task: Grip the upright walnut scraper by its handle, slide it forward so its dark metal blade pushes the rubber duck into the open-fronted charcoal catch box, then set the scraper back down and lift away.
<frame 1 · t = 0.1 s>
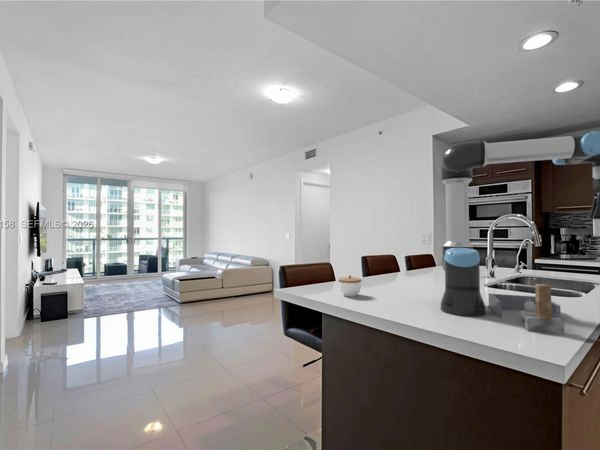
catch box: (522, 313, 116), on the counter
scraper: (543, 331, 96), on the counter
rubber duck: (530, 323, 105), on the counter
lidded jar: (350, 295, 150), on the counter
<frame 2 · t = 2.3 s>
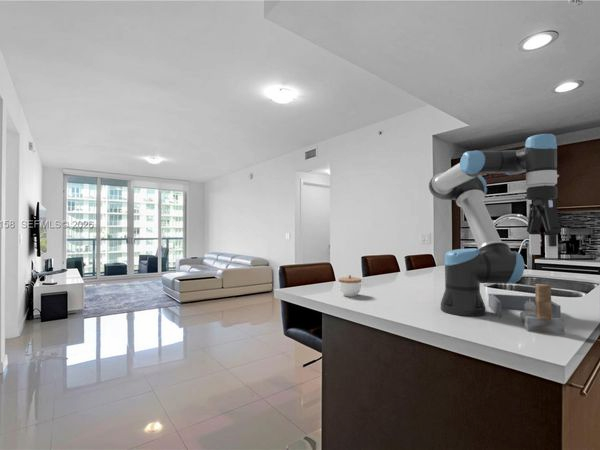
hand: (542, 256, 96), 23 cm above the counter, tool pointing down, fingers open, 13 cm apart
nothing on the counter moved.
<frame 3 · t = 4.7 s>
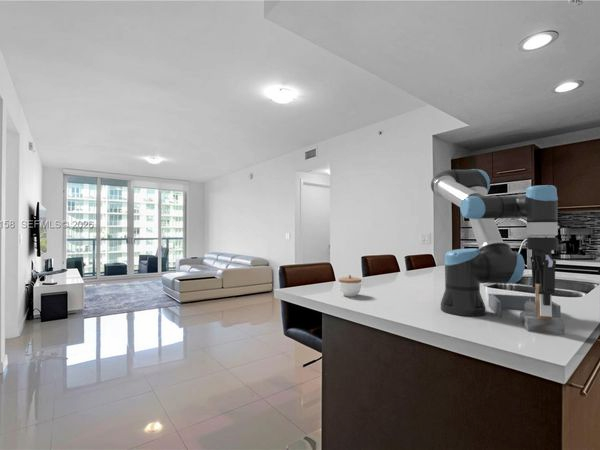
hand: (543, 314, 96), 5 cm above the counter, tool pointing down, fingers closed on scraper, 3 cm apart
scraper: (543, 331, 96), on the counter, touching gripper
everything else where it was.
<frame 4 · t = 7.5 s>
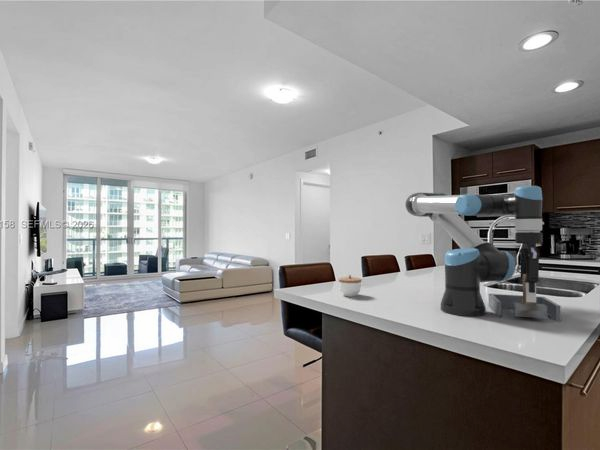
hand: (529, 300, 108), 6 cm above the counter, tool pointing down, fingers closed on scraper, 3 cm apart
scraper: (529, 315, 108), point 1 cm above the counter, touching gripper, rubber duck
rubber duck: (527, 317, 111), on the counter, touching scraper
everything else where it was.
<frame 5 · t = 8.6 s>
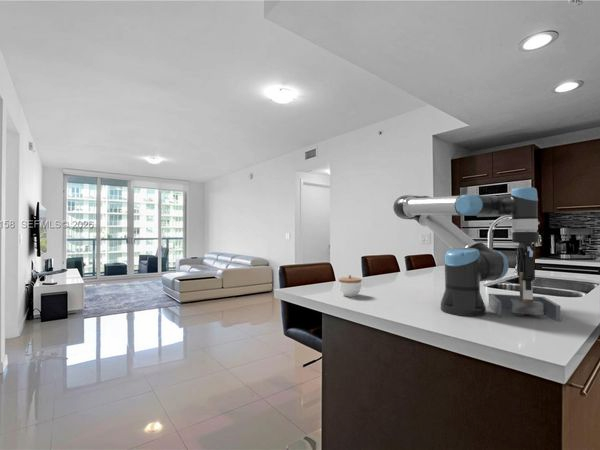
hand: (526, 298, 112), 7 cm above the counter, tool pointing down, fingers closed on scraper, 3 cm apart
scraper: (526, 312, 111), point 1 cm above the counter, touching gripper, rubber duck
rubber duck: (525, 314, 115), on the counter, touching scraper
everything else where it was.
when the fingers open (6 cm above the counter, at t = 10.9 s): scraper stays where it is, on the counter.
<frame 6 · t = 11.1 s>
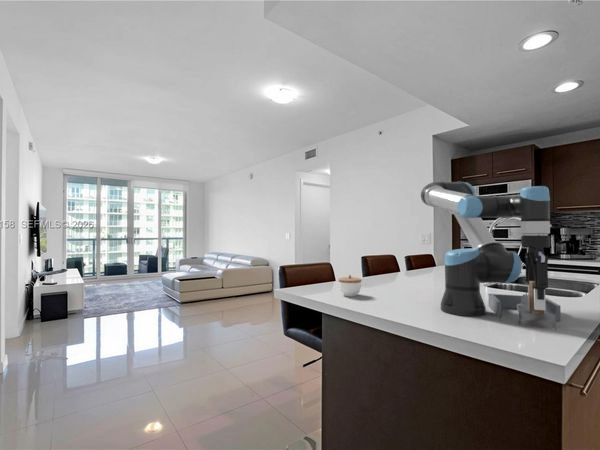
hand: (536, 307, 101), 6 cm above the counter, tool pointing down, fingers open, 5 cm apart
scraper: (536, 325, 101), on the counter
rubber duck: (525, 314, 115), on the counter
everything else where it was.
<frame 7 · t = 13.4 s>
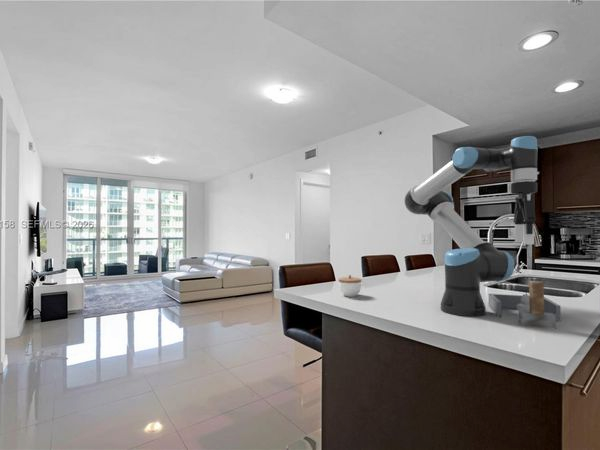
hand: (523, 243, 110), 26 cm above the counter, tool pointing down, fingers open, 13 cm apart
nothing on the counter moved.
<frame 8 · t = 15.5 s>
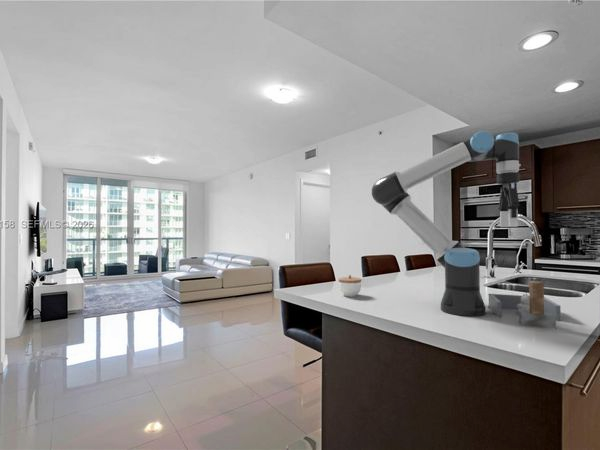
hand: (508, 226, 125), 32 cm above the counter, tool pointing down, fingers open, 13 cm apart
nothing on the counter moved.
at the end: rubber duck inside the target area on the catch box (1.8 cm from its centre), point 0.0 cm above the catch box's base; rubber duck moved 11.9 cm from its start; scraper tilted 0° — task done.
